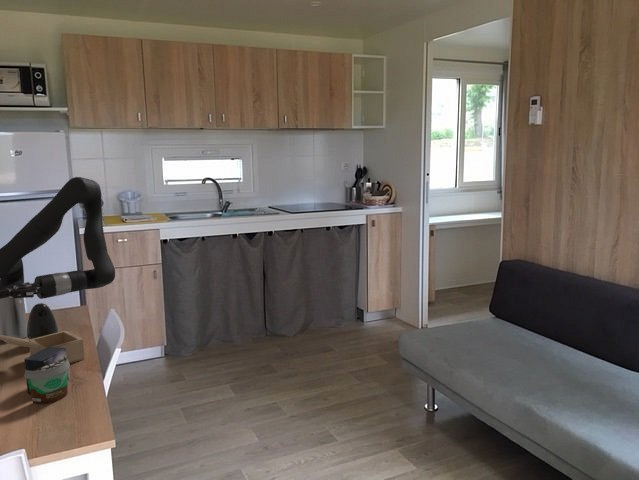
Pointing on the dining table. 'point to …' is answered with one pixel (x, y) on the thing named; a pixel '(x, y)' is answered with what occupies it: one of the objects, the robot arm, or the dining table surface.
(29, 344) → the flap
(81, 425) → the dining table surface
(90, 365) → the dining table surface
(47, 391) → the food container
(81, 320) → the dining table surface
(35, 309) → the black egg-shaped piece
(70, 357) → the carton
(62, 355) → the small box
